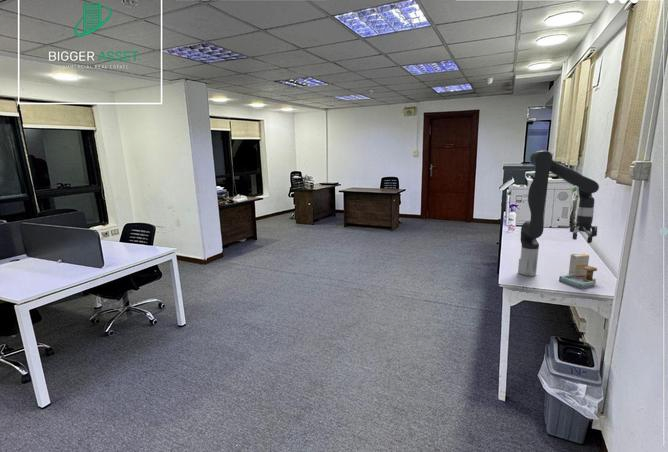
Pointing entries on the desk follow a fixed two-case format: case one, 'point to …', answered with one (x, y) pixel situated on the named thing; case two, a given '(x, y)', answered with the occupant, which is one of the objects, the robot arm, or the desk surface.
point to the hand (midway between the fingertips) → (581, 241)
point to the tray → (576, 281)
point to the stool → (589, 273)
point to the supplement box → (578, 264)
